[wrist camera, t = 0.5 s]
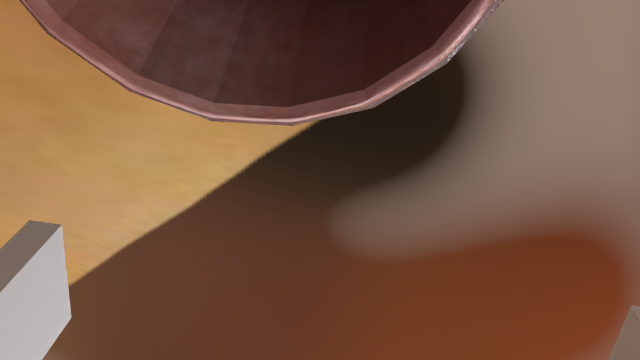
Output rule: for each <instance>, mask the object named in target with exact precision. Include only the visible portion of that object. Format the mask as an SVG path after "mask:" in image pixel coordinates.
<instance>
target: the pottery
mask: <svg viewBox="0 0 640 360" xmlns="http://www.w3.org/2000/svg"><path fill="white" fill-rule="evenodd" d="M503 1H504V0H20V2H21V3H22V4H23V5H24V6H25V8H26V9H27V10H28V11H29V12H30V14H31V15H32V16H33V17H34V18H35V20H36V21H37V22H38V23H39V24H40V26H41V27H42V28H43V29H44V30H45V31H46V33H47V34H49V35H50V36H51V37H53V38H54V39H56V40H57V41H59V42H60V43H61V44H63V45H64V46H66V47H67V48H69V49H70V50H71V51H73V52H74V53H76V54H77V55H78V56H80V57H81V58H83V59H84V60H86V61H87V62H88V63H90V64H91V65H93V66H94V67H96V68H97V69H98V70H100V71H101V72H103V73H104V74H106V75H107V76H108V77H110V78H111V79H113V80H114V81H116V82H117V83H118V84H120V85H121V86H123V87H124V88H126V89H127V90H128V91H130V92H133V93H135V94H138V95H141V96H144V97H146V98H149V99H152V100H155V101H158V102H160V103H163V104H166V105H169V106H171V107H174V108H177V109H180V110H182V111H185V112H188V113H191V114H194V115H196V116H199V117H202V118H205V119H207V120H210V121H219V122H236V123H253V124H270V125H287V126H293V125H297V124H302V123H306V122H311V121H316V120H320V119H324V118H329V117H334V116H338V115H343V114H347V113H352V112H356V111H361V110H366V109H370V108H374V107H376V106H377V105H379V104H381V103H382V102H384V101H386V100H387V99H388V98H391V97H392V96H394V95H395V94H397V93H399V92H400V91H402V90H404V89H405V88H407V87H409V86H410V85H412V84H414V83H415V82H417V81H418V80H420V79H422V78H424V77H425V76H427V75H428V74H430V73H432V72H433V71H435V70H437V69H438V68H440V67H442V66H443V65H445V64H446V63H448V61H449V60H450V59H451V58H452V57H453V56H454V55H455V54H456V53H457V52H458V51H459V50H460V48H461V47H462V46H463V45H464V44H465V43H466V42H467V41H468V39H469V38H470V37H471V36H472V35H473V34H474V33H475V32H476V31H477V30H478V29H479V27H480V26H481V25H482V24H483V23H484V22H485V21H486V20H487V19H488V18H489V16H490V15H491V14H492V13H493V12H494V11H495V10H496V9H497V8H498V7H499V5H500V4H501V3H502V2H503Z"/></svg>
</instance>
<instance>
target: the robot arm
mask: <svg viewBox="0 0 640 360" xmlns="http://www.w3.org/2000/svg"><path fill="white" fill-rule="evenodd" d="M70 318H71V310H70V300H69V290H68V281H67V271H66V261H65V252H64V242H63V232H62V225H59V224H52V223H45V222H38V221H31V220H29V221H28V222H27V223H26V224H25V225H24V226H23V227H22V228H21V229H20V230H19V231H18V232H17V233H16V234H15V235H14V236H13V237H12V238H11V239H10V240H9V241H8V242H7V243H6V244H5V245H4V246H3V247H2V248H1V249H0V360H42V359H43V357H44V356H45V354H46V353H47V352H48V350H49V349H50V347H51V346H52V344H53V343H54V342H55V340H56V339H57V337H58V336H59V334H60V333H61V332H62V330H63V329H64V327H65V326H66V324H67V323H68V322H69V320H70ZM609 360H640V307H638V306H631V308H630V310H629V313H628V315H627V317H626V320H625V322H624V324H623V327H622V329H621V331H620V334H619V336H618V339H617V341H616V343H615V345H614V348H613V350H612V353H611V355H610V357H609Z"/></svg>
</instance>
